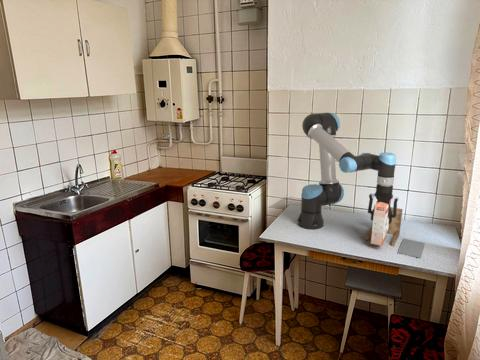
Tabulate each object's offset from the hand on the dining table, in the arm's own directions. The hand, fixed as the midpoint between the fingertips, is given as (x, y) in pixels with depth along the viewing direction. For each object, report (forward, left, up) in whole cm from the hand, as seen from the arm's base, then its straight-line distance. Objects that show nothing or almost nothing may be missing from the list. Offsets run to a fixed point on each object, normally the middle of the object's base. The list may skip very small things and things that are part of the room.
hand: (380, 227), depth 176 cm
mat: (+15, +4, -9) cm, 18 cm away
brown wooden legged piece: (0, +10, -9) cm, 14 cm away
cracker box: (0, 0, -7) cm, 7 cm away
